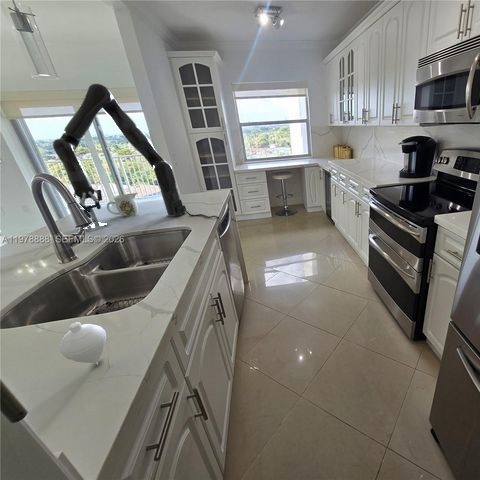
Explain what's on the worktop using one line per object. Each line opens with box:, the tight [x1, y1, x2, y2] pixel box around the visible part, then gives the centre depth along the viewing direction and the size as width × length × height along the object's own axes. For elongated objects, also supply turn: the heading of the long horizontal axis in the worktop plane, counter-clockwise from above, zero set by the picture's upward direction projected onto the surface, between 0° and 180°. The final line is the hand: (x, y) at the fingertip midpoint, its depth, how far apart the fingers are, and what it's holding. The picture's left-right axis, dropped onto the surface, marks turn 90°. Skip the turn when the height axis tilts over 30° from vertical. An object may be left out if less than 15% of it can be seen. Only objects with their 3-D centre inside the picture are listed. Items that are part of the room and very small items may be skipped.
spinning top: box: [59, 321, 107, 366], centre depth 57 cm, size 8×8×12 cm
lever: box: [86, 203, 98, 212], centre depth 143 cm, size 12×5×2 cm, turn 61°
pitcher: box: [106, 192, 139, 217], centre depth 164 cm, size 11×18×14 cm, turn 126°
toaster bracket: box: [85, 208, 107, 231], centre depth 148 cm, size 12×9×12 cm
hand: (93, 210), depth 141 cm, fingers open, 5 cm apart
